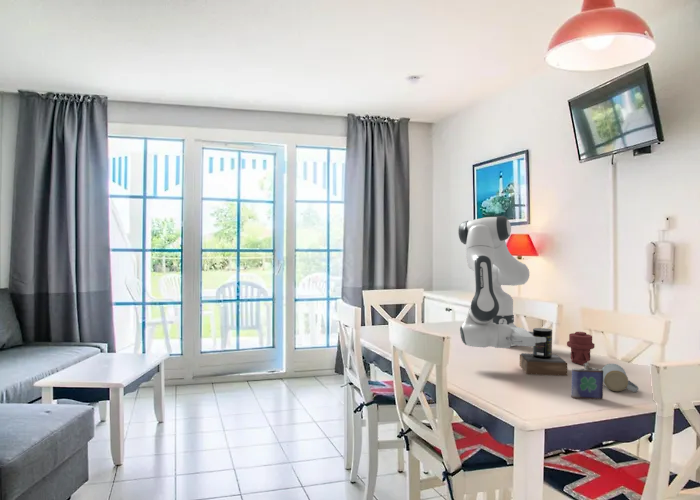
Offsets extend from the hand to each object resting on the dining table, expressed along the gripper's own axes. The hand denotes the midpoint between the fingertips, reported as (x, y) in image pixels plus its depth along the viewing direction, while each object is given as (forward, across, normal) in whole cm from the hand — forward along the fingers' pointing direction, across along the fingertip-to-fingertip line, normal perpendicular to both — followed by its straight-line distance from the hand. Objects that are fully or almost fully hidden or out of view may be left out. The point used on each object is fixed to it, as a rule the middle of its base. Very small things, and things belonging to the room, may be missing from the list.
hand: (542, 337), depth 189 cm
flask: (+5, -33, +13) cm, 36 cm away
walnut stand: (0, 0, +12) cm, 13 cm away
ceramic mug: (+19, -22, +13) cm, 32 cm away
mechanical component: (+18, +14, +13) cm, 26 cm away
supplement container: (0, 0, +8) cm, 8 cm away
